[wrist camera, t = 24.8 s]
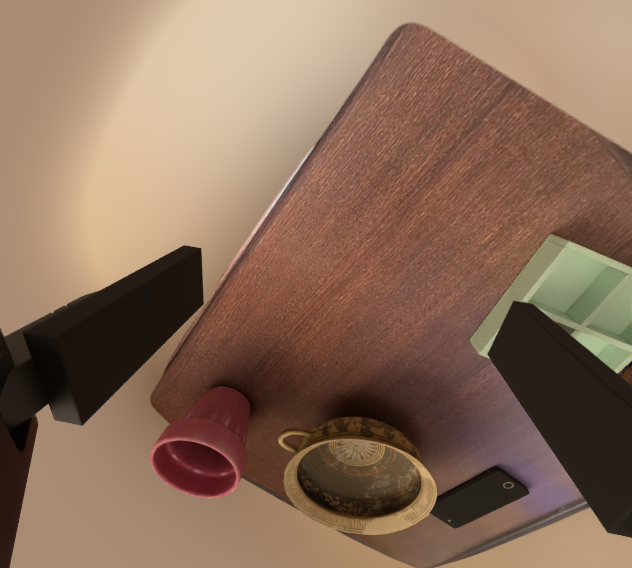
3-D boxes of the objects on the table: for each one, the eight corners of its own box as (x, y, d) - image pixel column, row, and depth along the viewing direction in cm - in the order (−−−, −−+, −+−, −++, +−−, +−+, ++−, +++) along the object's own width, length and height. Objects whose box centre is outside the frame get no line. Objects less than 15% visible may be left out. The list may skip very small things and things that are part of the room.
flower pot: (230, 440, 59) (200, 510, 47) (177, 397, 55) (131, 461, 44) (279, 411, 54) (258, 481, 42) (224, 362, 50) (185, 423, 39)
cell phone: (528, 488, 54) (531, 493, 53) (453, 524, 61) (455, 529, 60) (496, 465, 53) (498, 470, 52) (423, 504, 59) (424, 509, 59)
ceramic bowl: (258, 431, 56) (240, 483, 47) (329, 355, 47) (324, 402, 38) (377, 499, 61) (382, 559, 52) (464, 442, 51) (488, 503, 42)
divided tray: (549, 233, 36) (569, 240, 33) (671, 285, 37) (702, 297, 33) (469, 339, 43) (478, 354, 40) (572, 380, 44) (590, 398, 41)
